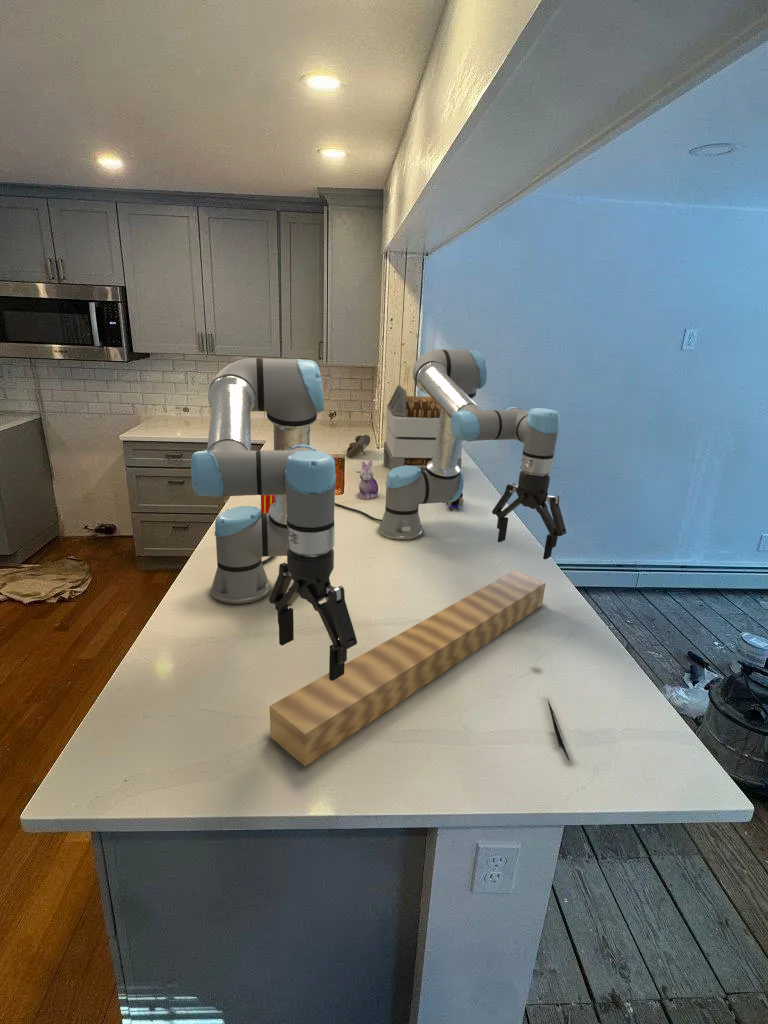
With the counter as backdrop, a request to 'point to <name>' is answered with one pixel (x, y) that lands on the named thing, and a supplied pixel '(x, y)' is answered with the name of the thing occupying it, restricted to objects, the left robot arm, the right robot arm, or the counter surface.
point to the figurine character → (456, 502)
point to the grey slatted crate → (411, 430)
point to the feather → (557, 730)
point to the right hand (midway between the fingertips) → (523, 549)
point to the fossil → (358, 446)
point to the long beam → (398, 668)
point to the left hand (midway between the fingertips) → (310, 658)
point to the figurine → (367, 482)
